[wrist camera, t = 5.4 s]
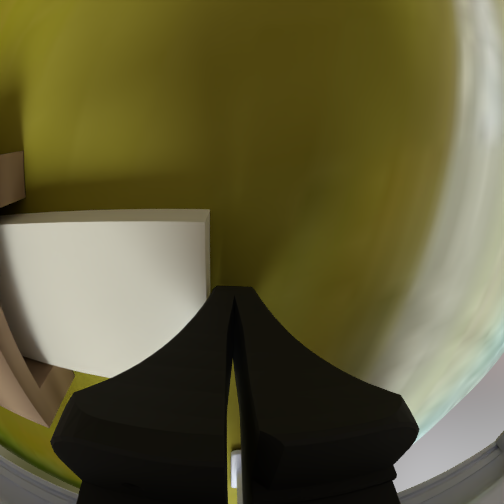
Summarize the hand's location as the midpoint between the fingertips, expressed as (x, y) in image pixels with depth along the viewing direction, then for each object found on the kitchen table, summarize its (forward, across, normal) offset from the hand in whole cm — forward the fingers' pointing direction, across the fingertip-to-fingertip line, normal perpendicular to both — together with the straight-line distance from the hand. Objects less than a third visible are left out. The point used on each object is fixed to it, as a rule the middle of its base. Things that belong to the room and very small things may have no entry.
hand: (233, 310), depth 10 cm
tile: (+1, +7, 0) cm, 7 cm away
